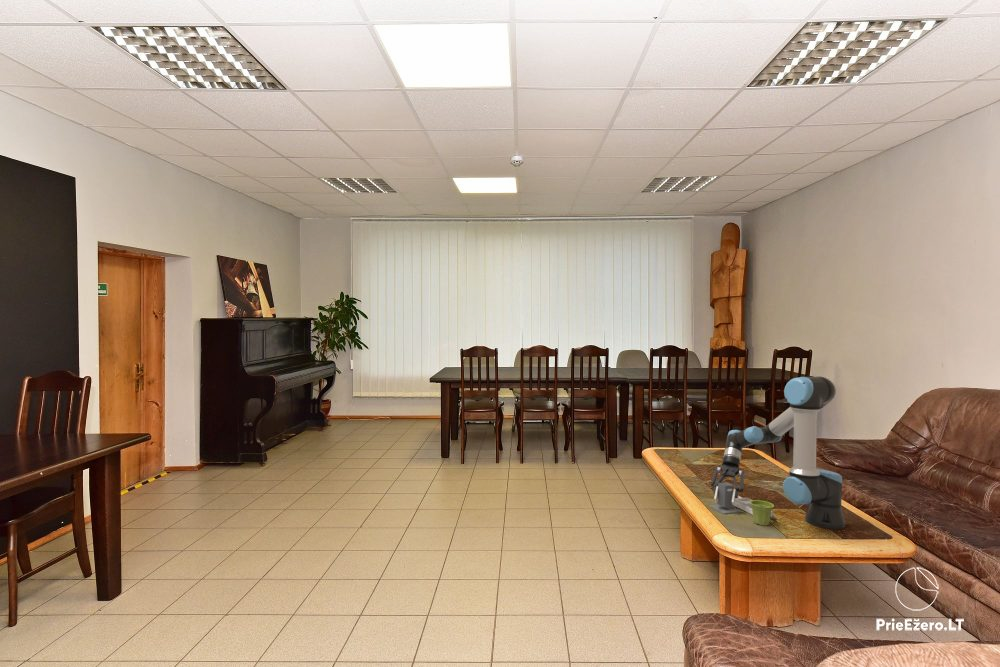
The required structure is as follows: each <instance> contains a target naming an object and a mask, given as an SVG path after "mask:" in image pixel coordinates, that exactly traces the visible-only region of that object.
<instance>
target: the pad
mask: <svg viewBox="0 0 1000 667" xmlns="http://www.w3.org/2000/svg"><path fill="white" fill-rule="evenodd" d="M708 507H709V508H711V509H712V510H714V511H717V512H718V513H720V514H721V515H729V514H741V513H742V512H743V510H741V509H739V508H737V507H735V506H733V507H723V506H721V505H719V504H714V505H713V504H711V505H709V506H708Z"/></svg>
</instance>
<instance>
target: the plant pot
mask: <svg viewBox="0 0 1000 667" xmlns="http://www.w3.org/2000/svg"><path fill="white" fill-rule="evenodd" d="M752 500H753V501H750V504H751V507H752V512H753V515H752V519H753V523H754V524H756V525H760V526H768V525H770V522H771V518H770V516H771V511H773V508H774V507H775V505H774V503H771V502H769V501H767V500H760V499H759V500H758V499H755V500H754V499H752Z"/></svg>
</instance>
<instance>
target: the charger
mask: <svg viewBox="0 0 1000 667" xmlns="http://www.w3.org/2000/svg"><path fill="white" fill-rule="evenodd" d="M734 489H735V485H734V484H732V483H730V482H728V481H726V482H723V481H722V482H721V483H718V497H717V505H721V506H723V507H734V505H732V497H733V491H734Z"/></svg>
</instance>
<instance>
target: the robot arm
mask: <svg viewBox="0 0 1000 667" xmlns="http://www.w3.org/2000/svg"><path fill="white" fill-rule="evenodd" d="M836 392H837V391H836V387H835V384H834V383H833V382H832V381H831V380H830V379H828V378H827V377H825V376H824V377H823V376H800V377H795V378H791V379H790V380H789V381H787V383H786V385H785V387H784V391H783V393H784V394H783V395H784V398H785V399H786V401H787V403H789V407H788V408H787V409H785V411H783V412H782V413H781V414H779V415H778V416H777V417H776V418H774V419H773V420H772V421H771V422H769V423H768V424H767V425H766V426H764V427H758V426H756V425H754V426H750V427H747V428H745V429H743V430H738V429H732V430H729V431H728V434H727V437H726V441H725V442H726V443H725V446H724V452H723V457H722V458H723V459H722V463H721V466H720V467H719V466H713V467H714V472H713V475H712V477H711V480H710V486H711V487H713V491H712V492H713V494H714V497H713V498H714V502H717V503H718V483H723V480H725V478H726V477H727V478H732V480H733V485H734V491H733V497H732V505H733V506H734V502H735V498H738V496H739V493H740V492H741V493H743V492H744V482H745V480H744V479H745V476H746V472H745V471H744V470H740V464H741V458H742V452H743V448H744V449H745V448H746V447H749V446H753V445H761V444H770V443H771V444H774V443H777V442H780V441H781V440H782V438H783V435H784V434H786V433H787V432H789V430H791V429H792V428H793V448H792V449H793V456H792V457H793V458H792V460H793V462H792V465H793V466H792V467H791V468H789V469H788V476H787V477H786V478H785V479H784V480H783V483H782V489H783V492H784V495H785V496H787V498H788V499H789V501H791V502H792V503H794V504H796V505H809V506H808V507H807V510H806V513H805V515H804V516H805V518H804V519H805V520H804V521H805V522H807V523H808V524H810V525H812V526H815V527H818V528H823V529H828V530H843V529H845V528H846V519H845V518H844V514H843V511H842V497H843V494H842V493H843V484H844V483H843V476H842V475H841V474H839V472H838V473H837V472H835V471H831V470H827V469H820V468H817V436H818V435H817V429H818V428H817V427H818V426H817V424H818V420H817V419H818V418H817V417H818V413H819V412H820V411H821V410H822V409H823V408H824V407H826V406H827V405H829V403H831V402H832V401H833V400H834V398H835V396H836ZM720 471H721V474H720V476H719V477H718V474H719V473H720ZM738 474H739V477H740V478H739V479H740V480H739V485H738V482H737V477H736V476H737V475H738ZM717 477H718V478H717ZM844 527H845V528H844Z"/></svg>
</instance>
